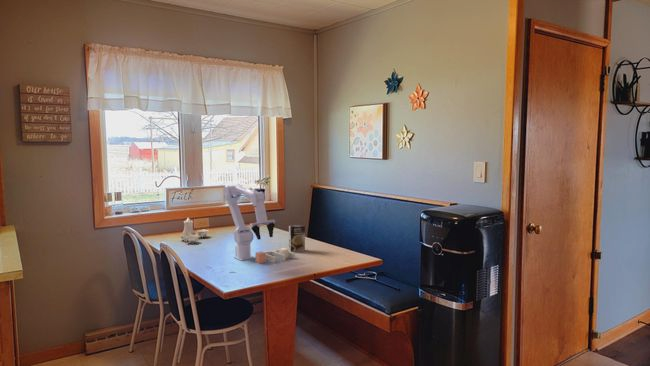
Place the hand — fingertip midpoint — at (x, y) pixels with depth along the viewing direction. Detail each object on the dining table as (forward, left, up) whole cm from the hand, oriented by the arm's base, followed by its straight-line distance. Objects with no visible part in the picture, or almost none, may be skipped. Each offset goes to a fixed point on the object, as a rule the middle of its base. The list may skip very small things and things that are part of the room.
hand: (265, 238), depth 237 cm
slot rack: (-6, +12, -15) cm, 20 cm away
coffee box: (-15, +31, -15) cm, 38 cm away
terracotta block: (-6, 0, -15) cm, 16 cm away
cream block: (-6, +16, -14) cm, 22 cm away
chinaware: (-88, -6, -15) cm, 89 cm away
